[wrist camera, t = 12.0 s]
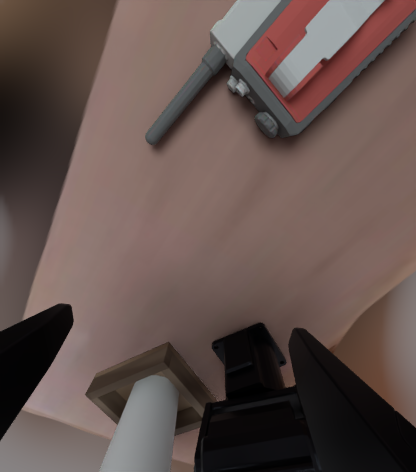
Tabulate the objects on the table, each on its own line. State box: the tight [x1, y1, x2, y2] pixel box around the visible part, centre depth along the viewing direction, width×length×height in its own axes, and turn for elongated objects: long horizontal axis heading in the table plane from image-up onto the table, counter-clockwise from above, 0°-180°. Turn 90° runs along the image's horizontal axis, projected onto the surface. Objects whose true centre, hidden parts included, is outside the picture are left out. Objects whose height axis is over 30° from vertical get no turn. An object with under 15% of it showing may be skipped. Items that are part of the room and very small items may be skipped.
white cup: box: [99, 375, 179, 472], centre depth 23 cm, size 7×7×10 cm
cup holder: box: [85, 342, 216, 436], centre depth 27 cm, size 11×11×3 cm
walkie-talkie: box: [145, 0, 416, 145], centre depth 14 cm, size 9×4×20 cm
